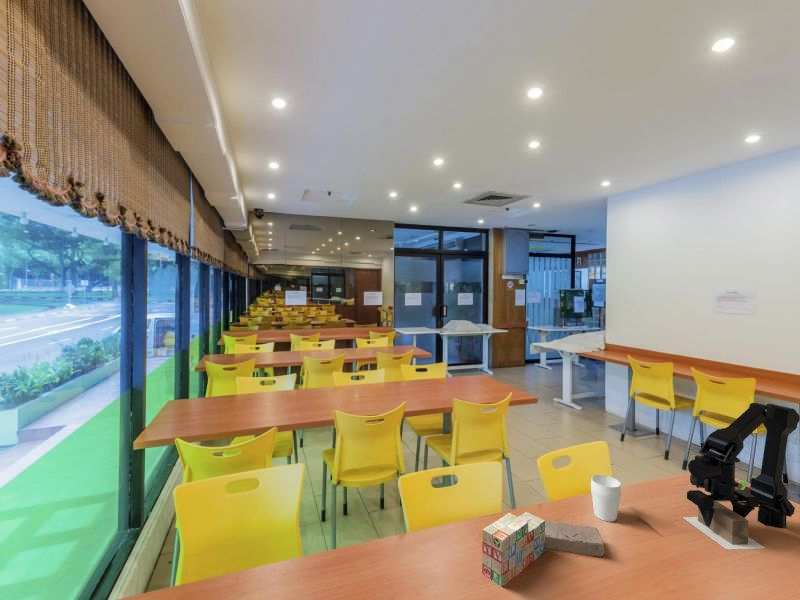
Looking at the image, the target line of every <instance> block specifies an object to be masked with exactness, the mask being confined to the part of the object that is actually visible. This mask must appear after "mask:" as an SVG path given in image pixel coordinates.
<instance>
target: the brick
mask: <svg viewBox="0 0 800 600" xmlns="http://www.w3.org/2000/svg"><path fill="white" fill-rule="evenodd" d="M543 520H544V521H545V549H549V550H554V551H556V550H558V551H562V552H566V553H567V552H568V553H571V552H572V553H573V554H579V555H583V554H584V555H583V556H588V557H589V556H590V557H600V558H601V557H602V556H604V555H605V547H604V541H603V537H602V536H601V535H602V534H601V533H600V531H599V529H598V528H597V527H594V526H590V525H581V524H580V525H577V524H575V525H573V524H570V523H565V522H559V521H552V520H545V519H543ZM572 553H571V554H572Z"/></svg>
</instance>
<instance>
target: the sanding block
mask: <svg viewBox="0 0 800 600" xmlns="http://www.w3.org/2000/svg"><path fill="white" fill-rule="evenodd" d="M712 508H714V509H715V510H714V514H713V518H712V522H711V525H710V527H708V526H706V525H705V522H704V520H703V517H702V514H701V512H700V510H699V508H698V507H697V517H698V521H699V522H701V523H702V524H703V525H705V526H706V527H708V528H709V529H711V530H712V531H713V532H715V533H716V534H718V535H719V536H721V537H722V538H723V539H725V540H726V541H728V542H729V543H731V544H732V545H733V544H748V537H749V520H748V519H747V518H746V517H745V518H743V517H742V516H740V515H738V514H737V513H735V512H734V511H733V509H730V508H729V507H727V506H725V505H723V504H722V503H721V502H714V506H713V507H712Z"/></svg>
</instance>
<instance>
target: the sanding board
mask: <svg viewBox="0 0 800 600" xmlns="http://www.w3.org/2000/svg"><path fill="white" fill-rule="evenodd" d="M682 518H683V519H684V520H686V521H687V522H688V523H689V524H691V525H692V526H694V527H695V528H696V529H698V530H700V531H701V533H704V535H706V536H708V537H709V538H710V539H712V540H713V541H715V542H716V543H717V544H719V545H720V546H721V547H723V548H724V549H726V550H751V549H752V550H755V549H756V550H758V549H764V550H765V549H766V547H765V546H763V545H762V544H760V543H759V542H757V541H755V540H754V539H753V538H751V537H750V536H748V544H733V545H732V544H731V543H729V542H728V541H726V540H725V539H723V538H722V537H721V536H719V535H718V534H716V533H715V532H713V531H712V530H711V529H709V528H708V527H706V526H705V525H703V524H702V523H701V522H699V521H698V516H686V517H685V516H682Z"/></svg>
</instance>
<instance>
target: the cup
mask: <svg viewBox="0 0 800 600" xmlns="http://www.w3.org/2000/svg"><path fill="white" fill-rule="evenodd" d="M590 479H591V480H590V491H591V499H592V506H593V514H594V516H595V517H596V518H598V519H599V520H602V521H604V522H611V523H612V522H615V521H617V519H618V512H619V507H620V502H621V496H622V490H621V489H622V488H621V487H622V486H621V485H622V484H621V482H620V481H619V480H618V479H616V478H614V477H612V476H608V475H604V474H596V475H593V476H591V477H590Z"/></svg>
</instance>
